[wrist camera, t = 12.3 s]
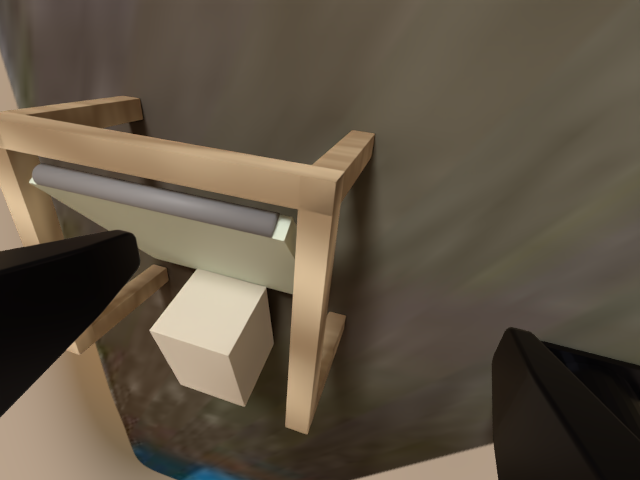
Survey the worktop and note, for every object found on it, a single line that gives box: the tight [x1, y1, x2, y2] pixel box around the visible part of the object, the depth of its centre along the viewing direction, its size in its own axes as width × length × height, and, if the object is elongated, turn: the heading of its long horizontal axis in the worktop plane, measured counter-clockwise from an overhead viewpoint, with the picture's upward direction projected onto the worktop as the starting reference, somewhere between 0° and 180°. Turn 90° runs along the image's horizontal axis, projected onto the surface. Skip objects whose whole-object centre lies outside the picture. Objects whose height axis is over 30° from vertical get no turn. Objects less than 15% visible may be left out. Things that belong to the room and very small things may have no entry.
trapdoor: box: [29, 163, 297, 294], centre depth 18 cm, size 10×12×1 cm
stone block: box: [149, 268, 274, 407], centre depth 23 cm, size 5×5×7 cm
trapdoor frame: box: [0, 96, 375, 435], centre depth 19 cm, size 13×15×8 cm
